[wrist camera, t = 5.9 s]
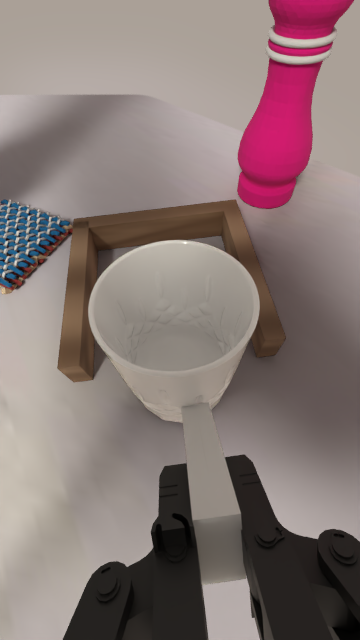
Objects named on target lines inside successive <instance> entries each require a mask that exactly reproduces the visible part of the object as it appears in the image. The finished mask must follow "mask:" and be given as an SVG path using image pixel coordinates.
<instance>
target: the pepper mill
mask: <svg viewBox="0 0 360 640" xmlns="http://www.w3.org/2000/svg"><path fill="white" fill-rule="evenodd" d="M353 1H354V0H269V6H270V10H271V12H272V14H273V17H274V20H275V25H274V26H273V27H271V29H270V30H269V33H268V36H269V41H268V45H267V47H266V54H267V55H268V56H269V57H270V59H269V67H268V76H267V80H266V84H265V88H264V92H263V95H262V97H261V100H260V103H259V105H258V107H257V110H256V112H255V113H254V115H253V117H252V119H251V121H250V122H249V124H248V126H247V128H246V129H245V132H244V134H243V137H242V139H241V142H240V146H239V151H238V162H239V165H240V167H241V169H242V172H241V173H240V176H239V182H238V189H237V191H238V195H239V196H240V198H241V199H242V200H243V201H244V202H246V203H247V204H249V205H251V206H254V207H258V208H266V209H269V208H276V207H279V206H282V205H284V204H285V203H286V202H288V201H289V199H290V198H291V196H292V193H293V190H294V187H295V184H296V178H295V177H296V176H298V175H299V174H300V173H301V172H302V171H303V170H304V169H305V167H306V166H307V164H308V161H309V157H310V154H311V150H312V137H313V136H312V135H313V134H312V121H311V104H312V95H313V90H314V86H315V82H316V78H317V75H318V72H319V70H320V67H321V64H322V62H323V60H325V59H326V58H328V57H329V56H330V54H331V52H332V47H331V46H332V44H333V41H334V39H335V38H336V36H337V30H336V29H335V27H334V25H335V24H336V22H337V21H338V19H339V18H340V17H341V16H342V15H343V14H344V13H345V12H346V11H347V9H348V8H349V7H350V5H351V4H352V3H353Z"/></svg>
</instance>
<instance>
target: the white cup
mask: <svg viewBox="0 0 360 640" xmlns="http://www.w3.org/2000/svg"><path fill="white" fill-rule="evenodd" d="M259 310H260V302H259V295H258V291H257V288H256V285H255V283H254V281H253V279H252V277H251V275H250V274H249V272H248V271H247V270H246V269H245V267H244V266H243V265H242V264H241V263H240V262H239V261H237V260H236V259H235V258H234V257H232V256H231V255H229V254H228V253H226V252H224V251H222V250H220V249H218V248H216V247H213V246H211V245H208V244H204V243H200V242H195V241H188V240H167V241H160V242H154V243H150V244H147V245H144V246H141V247H138V248H136V249H133V250H131V251H129V252H127V253H126V254H124V255H122V256H121V257H119V258H118V259H117V260H115V261H114V262H113V263H112V264H111V265H109V266H108V267H107V268H106V270H105V271H104V272H103V273H102V274H101V276H100V277H99V279H98V280H97V282H96V283H95V285H94V287H93V290H92V292H91V296H90V299H89V306H88V317H89V323H90V327H91V330H92V333H93V335H94V337H95V339H96V341H97V342H98V344H99V345H100V347H101V348H102V350H103V351H104V352H105V354H106V355H107V357H108V358H109V359H110V361H111V362H112V364H113V365H114V367H115V368H116V370H117V371H118V372H119V374H120V375H121V377H122V378H123V380H124V381H125V382H126V384H127V385H128V386H129V387H130V389H131V390H132V391H133V393H134V394H135V395H136V396H137V397H138V398H139V399H140V400H141V401H142V403H143V404H144V406H145V407H146V408H147V409H148V410H150V411H151V412H152V413H154V414H155V415H157V416H158V417H160V418H161V419H162V420H166V421H174V422H181V423H183V421H182V412H181V407H186V406H192V405H195V404H200V403H208V402H209V405H210V409H211V410H212V409H213V407H214V406H215V405H216V404H217V403H218V402H219V401H220V400H221V397H222V395H223V393H224V392H225V390H226V389H227V387H228V385H229V383H230V381H231V379H232V377H233V376H234V374H235V372H236V369H237V367H238V365H239V363H240V360H241V358H242V356H243V354H244V351H245V349H246V347H247V345H248V343H249V340H250V338H251V336H252V334H253V332H254V330H255V327H256V325H257V321H258V317H259Z"/></svg>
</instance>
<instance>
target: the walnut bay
mask: <svg viewBox="0 0 360 640" xmlns="http://www.w3.org/2000/svg"><path fill="white" fill-rule="evenodd" d="M220 235H221V236H222V240H223V243H224V247H225V250H226V253H228V254H229V255H231V256H232V257H234V258H235V259H236V260H237V261H239V262H240V263H241V264H242V265H243V266H244V267H245V269H246V270H247V271H248V272H249V274H250V275H251V277H252V279H253V281H254V283H255V285H256V288H257V291H258V295H259V302H260V310H259V317H258V321H257V325H256V327H255V330H254V332H253V334H252V336H251V340H252V343H253V346H254V350H255V353H256V357H264V356H272V355H276V353H277V352H278V350H279V348H280V347H281V345H282V344H283V342H284V340H285V339H286V336H285V333H284V331H283V328H282V325H281V322H280V320H279V317H278V314H277V311H276V309H275V306H274V303H273V301H272V298H271V295H270V292H269V290H268V287H267V284H266V281H265V279H264V276H263V273H262V270H261V268H260V265H259V262H258V259H257V257H256V254H255V251H254V248H253V246H252V243H251V240H250V237H249V235H248V232H247V229H246V226H245V224H244V221H243V218H242V215H241V213H240V210H239V207H238V204H237V202H236V200H228V201H219V202H211V203H203V204H194V205H186V206H178V207H169V208H161V209H153V210H144V211H136V212H128V213H119V214H111V215H103V216H94V217H86V218H78V219H74V222H73V231H72V240H71V249H70V258H69V268H68V277H67V286H66V295H65V304H64V313H63V322H62V331H61V340H60V349H59V358H58V367H57V369H59V370H60V371H61V372H62V373H63V374H65V375H66V376H67V377H68V378H69V379H70V380H72V381H73V382H80V381H87V380H93V367H94V342H95V337H94V335H93V333H92V330H91V327H90V323H89V317H88V306H89V299H90V296H91V292H92V290H93V287H94V285H95V283H96V282H97V265H98V250H107V249H115V248H123V247H131V246H139V245H147V244H150V243H154V242H160V241H167V240H188V239H196V238H204V237H212V236H220Z"/></svg>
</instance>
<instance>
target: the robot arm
mask: <svg viewBox="0 0 360 640" xmlns="http://www.w3.org/2000/svg"><path fill="white" fill-rule="evenodd" d="M181 412H182V421H183V431H184V441H185V451H186V461H187V463H185V464H178V465H170V466H164V468H163V470H162V472H161V474H160V479H159V516H158V517H157V519H156V520H155V522H154V523H153V526H152V530H151V536H152V541H153V549H152V550H151V552H150V553H149V554H148V555H147V556H146V557H144V558H143V559H141V560H140V561H138V562H136V563H134V564H132V565H130V566H129V567H126V566H125V564H123V563H120V562H117V561H116V562H108V563H107V564H105V565H103V566H101V567H99V568H98V569H97V570H96V571H95V572H94V573H93V574H92V576H91V578H90V579H89V581H88V583H87V585H86V587H85V589H84V592H83V594H82V596H81V599H80V601H79V603H78V606H77V608H76V610H75V612H74V615H73V617H72V619H71V622H70V624H69V626H68V629H67V631H66V633H65V636H64V638H63V640H208V632H207V623H206V614H205V606H204V598H203V589H202V585H207V584H213V583H220V582H227V581H234V580H241V579H246V575H247V579H248V583H249V587H250V600H251V613H252V618H254V617H255V621H256V625H257V629H258V633H259V637H260V640H360V542H359V541H358V540H357V539H356V538H354V537H353V536H352V535H350V534H348V533H346V532H344V531H341V530H336V529H330V530H325V531H324V532H323V533H321V534H320V535H319V538H318V539H313V538H308V537H303V536H299V535H296V534H294V533H292V532H290V531H288V530H287V529H285V528H284V527H283V526H282V525H281V524H280V523H279V522H278V520H277V518H276V517H275V515H274V512H273V510H272V507H271V505H270V503H269V500H268V498H267V495H266V493H265V491H264V488H263V486H262V483H261V481H260V479H259V476H258V475H257V471H256V469H255V467H254V464H253V462H252V461H251V460H250V459H249V458H248V457H247V456H246V455H238V456H230V457H224V453H223V450H222V447H221V443H220V440H219V436H218V433H217V429H216V426H215V422H214V419H213V415H212V412H211V409H210V405H209V402H208V403H200V404H195V405H192V406H186V407H181ZM245 571H246V572H245Z"/></svg>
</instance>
